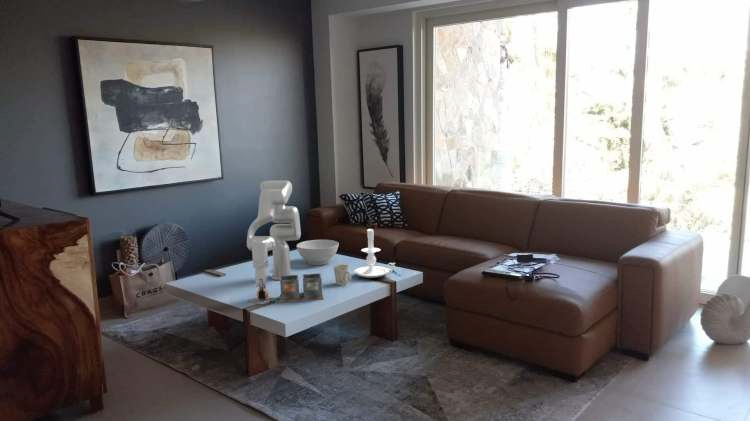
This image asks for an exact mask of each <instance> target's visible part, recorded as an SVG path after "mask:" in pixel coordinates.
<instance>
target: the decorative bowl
mask: <svg viewBox="0 0 750 421" xmlns="http://www.w3.org/2000/svg"><path fill="white" fill-rule="evenodd" d="M338 248H339V242H338V241H336V240H332V239H313V240H312V239H311V240H305V241H301V242H299V243H297V244H296V250H297V252H298V254H299V255H300V257H301V258H302V259H303V260H305V261H306V262H308V264H309V265H312V266H320V265H323V266H324V265H326V264H328V263H329V261H330V260H332V259H333V257H335V255H336V254H337V251H338Z"/></svg>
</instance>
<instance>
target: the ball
mask: <svg viewBox="0 0 750 421" xmlns="http://www.w3.org/2000/svg"><path fill="white" fill-rule="evenodd" d="M258 291H259V289H258V290H256V298H257V297H258V299H259V293H258ZM264 291H265V299H266V298H267V297H268V296H269V291H268V289H267V288H266V289H265V288H264ZM260 300H264V299H260Z"/></svg>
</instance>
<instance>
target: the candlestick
mask: <svg viewBox="0 0 750 421" xmlns="http://www.w3.org/2000/svg"><path fill="white" fill-rule="evenodd" d="M374 232H375V231H374V229H372V228H368V229H367V230H366V234H367V247H365V248H362V249H361V250H360V251H361V252H363V253H366V254H367V256H366V257H365V258H366V259H365V261H366V263H367V265H368V266H362V267H357V268H355V269H354V270H353V274H356V275H357V276H359V277H362V278H367V279H373V278H380V277H383V276H385V275H391V274H393V271H394V270H395V267H396V266H395V264H396V262H389V263H388V264H387V265H386V267H384V266H379V265H378V266H377V265H375V264H376V262H377V257H376V255H375V253H376V252H380V251H381V248H378V247H375V246H374V239H375V238H374V236H375V233H374ZM374 265H375V266H374ZM389 265H391V266H392V269H390V268H389Z"/></svg>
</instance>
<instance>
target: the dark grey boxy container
mask: <svg viewBox="0 0 750 421" xmlns="http://www.w3.org/2000/svg"><path fill="white" fill-rule="evenodd" d="M321 274H322V273H318V272H317V273H306V274H305V273H304V274H302V287H303V292H300V284H299V283H300V279H299V274H293V275H288V276H280V280H279V282H280V283H279V284H280V294H279V302H280V303H288V302H289V303H292V302H302V301H303V302H304V301H318V300H320V301H321V300H324V294H323V286H322V285H323V284H322V280H323V279H322V275H321Z"/></svg>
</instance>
